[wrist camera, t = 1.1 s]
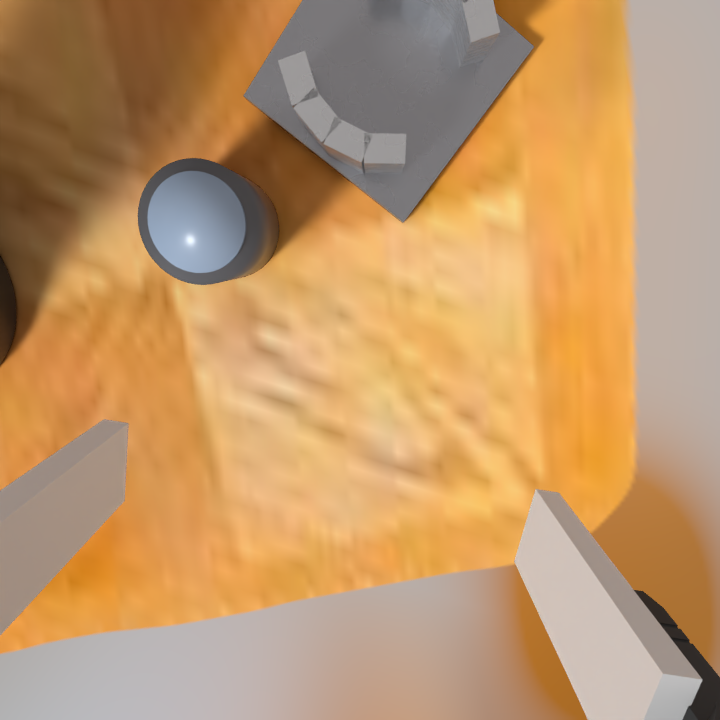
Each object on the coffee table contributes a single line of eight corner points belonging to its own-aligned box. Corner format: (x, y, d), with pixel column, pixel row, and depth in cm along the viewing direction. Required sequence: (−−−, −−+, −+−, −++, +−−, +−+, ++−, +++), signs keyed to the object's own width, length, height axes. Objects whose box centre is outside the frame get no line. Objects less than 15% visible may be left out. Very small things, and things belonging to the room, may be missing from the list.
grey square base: (402, 223, 32) (407, 219, 28) (246, 99, 31) (225, 74, 26) (529, 51, 30) (557, 17, 25) (366, -93, 28) (364, -157, 24)
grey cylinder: (161, 237, 33) (113, 235, 27) (214, 152, 32) (176, 129, 26) (243, 297, 34) (214, 309, 28) (298, 217, 32) (281, 210, 26)
